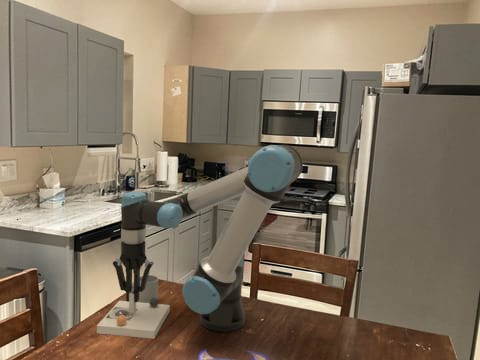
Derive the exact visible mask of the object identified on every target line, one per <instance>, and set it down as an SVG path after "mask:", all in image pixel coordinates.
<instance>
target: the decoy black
mask: <svg viewBox="0 0 480 360" xmlns="http://www.w3.org/2000/svg"><path fill="white" fill-rule="evenodd" d="M149 303H150V305H151V306H152V307H155V306H157V305H158V304H159V298H158V299H157V298H152V299H150V302H149Z"/></svg>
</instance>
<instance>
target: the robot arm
mask: <svg viewBox="0 0 480 360" xmlns="http://www.w3.org/2000/svg"><path fill="white" fill-rule="evenodd" d="M303 161H304V160H303V157H302V156H301V154H300V152H299V150H297V149H296V148H294V147H293V146H291V145H288V144H278V145H267V146H264V147H262V148H260V149H259V150H257V151H256V152H255V153H254V154H253V155H252V156H251V158H250V159H249V162H248V164H247V166H245V167H243V168H241V169H239V170H237V171H234V172H232V173H230V174H227V175H226V176H222V177H220V178H218V179H216V180H214V181H211V182H209V183H207V184H205V185H202V186H199V187H198V188H194V189H193V190H190V191H188V192H185V193H183V194H181V195H179V196H175V197H173V198H170V199H167V200H164V201H153V200H147V194H146V193H145V192H141V191H128V192H125V193H123V194H122V196H121V205H120V209H121V210H120V213H121V228H120V230H121V231H120V240H121V242H120V256H119V258H116V259H115V260H113V261H112V266H113V267H114V269H115V271H116V275H117V280H118V285H119V289H120V291H124V292H125V294H126V298H125V299H126V300H125V301H127V302H129V313H134V312H135V310H136V302H138V301H139V292H142V291H143V290H144V289H145V287H146V283H147V279H148V275H150V272H151V271H150V270H151V269H152V267H153V265H154V262H153V261H150V260H148V258H147V255H146V241H145V240H146V235H147V234H146V227H147V226H152V227H159V228H163V229H176V228H178V227H179V226H180V224H181V223H182V220H184V219H186V218H188V217H192V216H193V215H196V214H197V213H200V212H202V211H205V210H207V209H210V208H212V207H215V206H218V205H220V204H223V203H225V202H228V201H230V200H233V199H235V198H237V197H240V198H239V200H238V202H237V204H236V206H235V207H234V209H233V211H232V213H231V215H230V217H229V218H228V221H227V222H226V224H225V226H224V227H223V230H222V231H221V233H220V235H219V237H218V239H217V241H216V243H215V244H214V247H213V248H212V250H211V252H210V254H208V255H207V256H204V257H203V258H202V259H201V260H200V262H199V264H198V266H197V267H196V269H195V271H194V272H193V275H191V276H190V277H189V278H187V279H186V280H185V282H184V284H183V286H182V296H183V299H184V302H185V304H186V305H187V307H188V308H189V309H191V311H193V312H195V313H197V314H199V315H200V317H199V323H200V324H201V326H203V328H206V329H208V330H210V331H215V332H219V333H220V332H223V333H225V332H226V333H227V332H234V331H237V330H240V329H241V328H243V326H244V325H245V323H246V313H245V309H244V306H243V302H242V287H243V271H244V270H243V268H244V260H243V256H244V255H245V253H246V251H247V250H248V248H249V247H250V244H251V243H252V241H253V239H254V238H255V236H256V233H257V232H258V230H259V228H260V227H261V225H262V223H263V221H264V220H265V218H266V216H267V214H268V213H269V211H270V209H271V207H272V206H273V204H278V203H280V202H281V200H282V199H283V197H284V196H285V194H286V192H287V190H288V189H289V186H291V184H292V183H294V182H295V181H296V180H298V179H299V177H300V176H301V174H302V172H303V167H304V163H303ZM146 225H147V226H146ZM143 265H144V270H143V274H142V276H143V278H142V281H141V285H140V277H141V268H142V266H143ZM123 266H124V267H125V273H124V268H123ZM133 282H134V290H132V288H133V287H132V283H133Z"/></svg>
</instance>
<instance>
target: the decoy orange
mask: <svg viewBox="0 0 480 360" xmlns="http://www.w3.org/2000/svg"><path fill="white" fill-rule="evenodd" d="M126 321H127V318H126V316H124V315H120V316H118V317H117V323H118V324H119V325H124V324H125V323H126Z"/></svg>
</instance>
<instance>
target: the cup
mask: <svg viewBox="0 0 480 360" xmlns="http://www.w3.org/2000/svg"><path fill="white" fill-rule="evenodd" d="M142 278H143V275H140V285H141V281H142ZM132 287H133V288H132V290H134V281H132ZM152 298H157V299H158V300H159V277H158V276H156V275H152V274H151V275H150V274H149V275H148V279H147V283H146V287H145V289H144V290H143V291H142V292H139V301H138V302H141V303H149V302H150V299H152Z"/></svg>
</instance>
